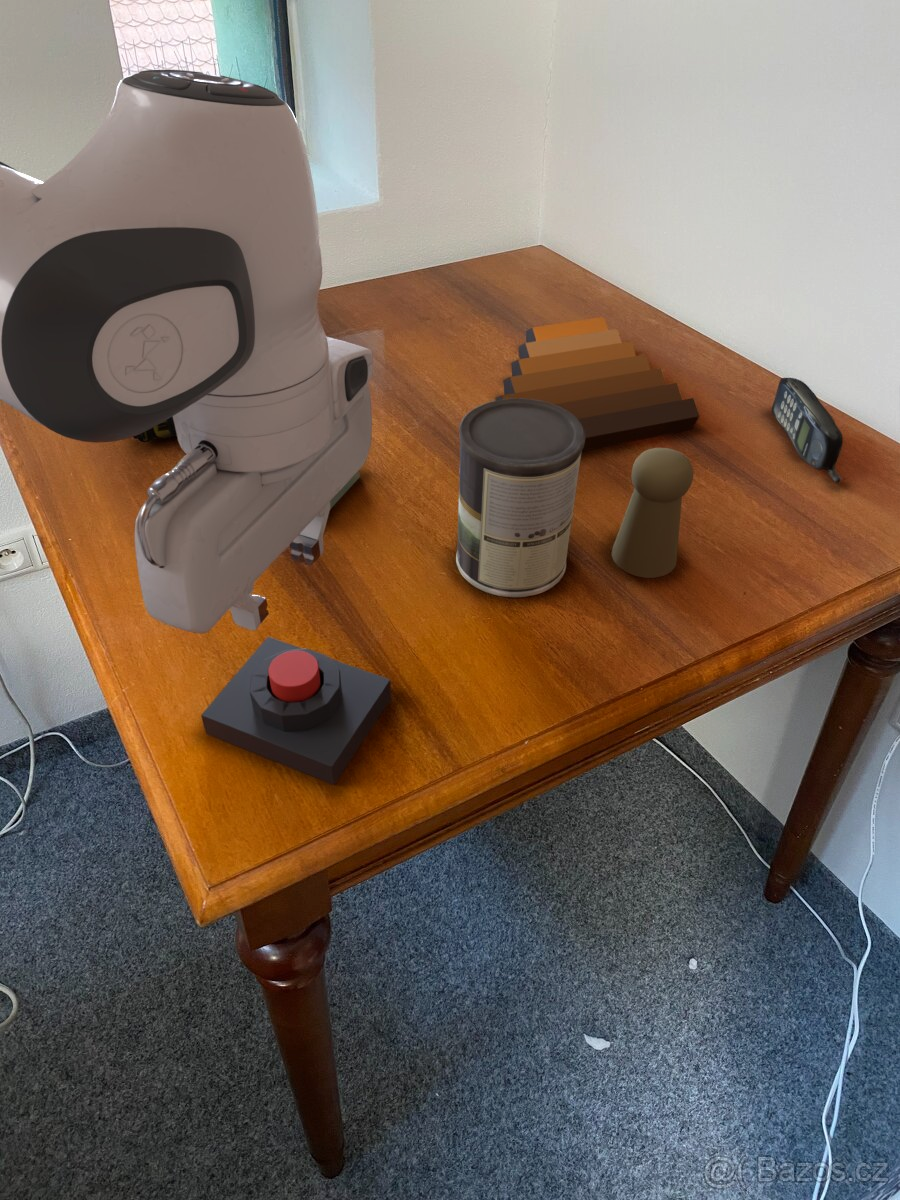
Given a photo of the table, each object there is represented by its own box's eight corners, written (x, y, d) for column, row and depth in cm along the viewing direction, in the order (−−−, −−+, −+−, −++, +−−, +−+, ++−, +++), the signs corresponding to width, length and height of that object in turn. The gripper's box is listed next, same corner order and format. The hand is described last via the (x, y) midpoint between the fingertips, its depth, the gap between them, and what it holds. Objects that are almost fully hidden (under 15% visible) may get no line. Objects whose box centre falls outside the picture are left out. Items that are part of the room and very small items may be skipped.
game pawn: (683, 547, 83) (709, 448, 75) (667, 585, 79) (692, 485, 71) (622, 529, 85) (641, 431, 77) (603, 566, 81) (621, 466, 73)
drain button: (261, 693, 64) (258, 677, 63) (287, 660, 66) (285, 644, 65) (304, 709, 63) (302, 693, 62) (329, 675, 65) (327, 659, 64)
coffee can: (432, 565, 80) (433, 432, 71) (500, 513, 86) (509, 384, 77) (523, 615, 76) (537, 480, 66) (588, 557, 81) (609, 426, 72)
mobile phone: (776, 373, 98) (833, 443, 87) (802, 372, 99) (862, 442, 87) (765, 413, 102) (818, 485, 90) (790, 412, 102) (846, 484, 91)
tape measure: (128, 419, 98) (120, 389, 95) (191, 408, 100) (184, 378, 97) (136, 451, 93) (128, 420, 91) (201, 439, 95) (195, 408, 92)
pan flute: (488, 473, 91) (695, 432, 98) (489, 445, 89) (702, 405, 96) (413, 363, 108) (594, 335, 115) (413, 338, 106) (597, 310, 113)
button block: (205, 734, 65) (196, 698, 63) (271, 655, 72) (265, 620, 69) (334, 785, 62) (330, 750, 60) (391, 698, 68) (390, 663, 66)
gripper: (186, 521, 41) (230, 713, 50) (386, 340, 55) (391, 517, 64) (79, 487, 43) (141, 678, 52) (299, 320, 56) (316, 495, 66)
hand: (281, 588), depth 58 cm, fingers open, 6 cm apart
